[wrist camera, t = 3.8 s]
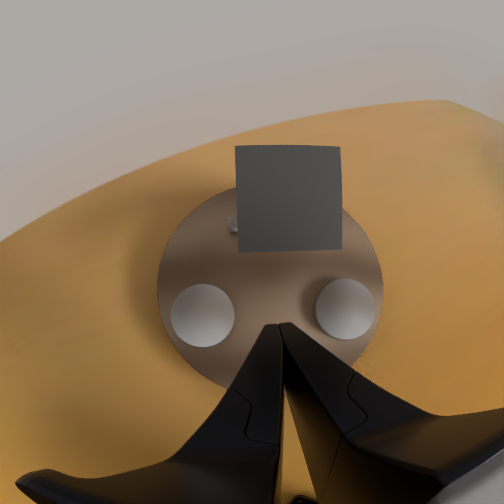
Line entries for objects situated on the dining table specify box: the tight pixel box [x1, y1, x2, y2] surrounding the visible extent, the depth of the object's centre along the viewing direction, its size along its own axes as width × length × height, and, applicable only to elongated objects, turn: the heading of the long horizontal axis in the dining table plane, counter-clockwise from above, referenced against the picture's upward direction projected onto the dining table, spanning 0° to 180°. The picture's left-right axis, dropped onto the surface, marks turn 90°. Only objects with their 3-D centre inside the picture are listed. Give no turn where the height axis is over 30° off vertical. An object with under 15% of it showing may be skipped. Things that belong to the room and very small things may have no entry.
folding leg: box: [235, 145, 342, 253], centre depth 14 cm, size 4×4×10 cm
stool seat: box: [157, 188, 383, 397], centre depth 19 cm, size 15×15×4 cm
